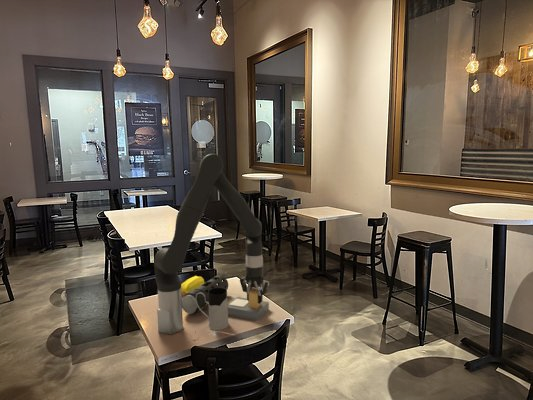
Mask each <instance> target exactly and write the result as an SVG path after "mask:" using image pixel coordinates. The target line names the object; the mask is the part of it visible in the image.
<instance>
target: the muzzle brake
mask: <svg viewBox="0 0 533 400" xmlns="http://www.w3.org/2000/svg"><path fill="white" fill-rule="evenodd" d="M214 288H224V289H226V290H227V291H228V289H229V281H228V279H227V278H226V276H224V275H221V274H217V275H215V276H213V277H212V278H211V279H209V280H207V281H204V284H202V285H201V286H199V287H197V288H196V289H194V290H191V291H189V292H188V293H186V294H185V295H184V296H182V311H183V312H185V313H186V314H196V313H198V312H199V311H200V310H199V308H198V307H197V304H196V299H195V298H196V294H197V303H198V305H199V307H200V309H201V310H202V309H203V308H205V307H206V306H207V305H208V304H207V303H206V302H209V293H208V292H209V290H211V289H214ZM200 292H201V293H203V294H204V295H205V296H206V302H205V298H204V296H203V295H202V294H198V293H200ZM200 312H201V311H200Z"/></svg>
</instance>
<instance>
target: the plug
mask: <svg viewBox="0 0 533 400" xmlns="http://www.w3.org/2000/svg"><path fill="white" fill-rule="evenodd" d="M260 306H261V303H260V304H259V303H258V291H257V290H256V288H255V287H252V288H251V289H250V290H249V307H250V308H256V309H258V308H259V307H260Z"/></svg>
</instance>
